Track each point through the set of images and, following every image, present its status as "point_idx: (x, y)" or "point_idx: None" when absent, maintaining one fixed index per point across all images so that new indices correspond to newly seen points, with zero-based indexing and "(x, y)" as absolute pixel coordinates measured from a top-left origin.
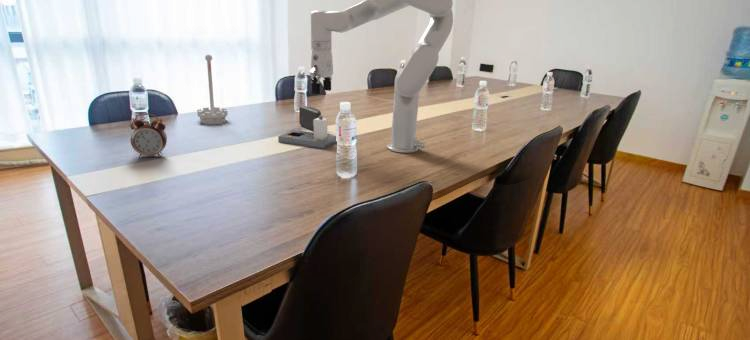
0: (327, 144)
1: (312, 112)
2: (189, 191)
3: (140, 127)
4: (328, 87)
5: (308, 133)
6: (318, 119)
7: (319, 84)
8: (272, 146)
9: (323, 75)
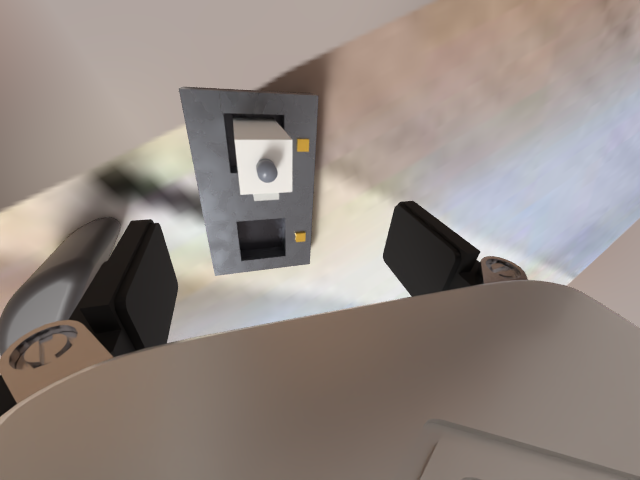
0: (282, 92)
1: (79, 301)
2: (588, 202)
3: None
4: (156, 257)
5: (224, 214)
6: (280, 173)
7: (470, 247)
8: (344, 243)
9: (578, 299)
